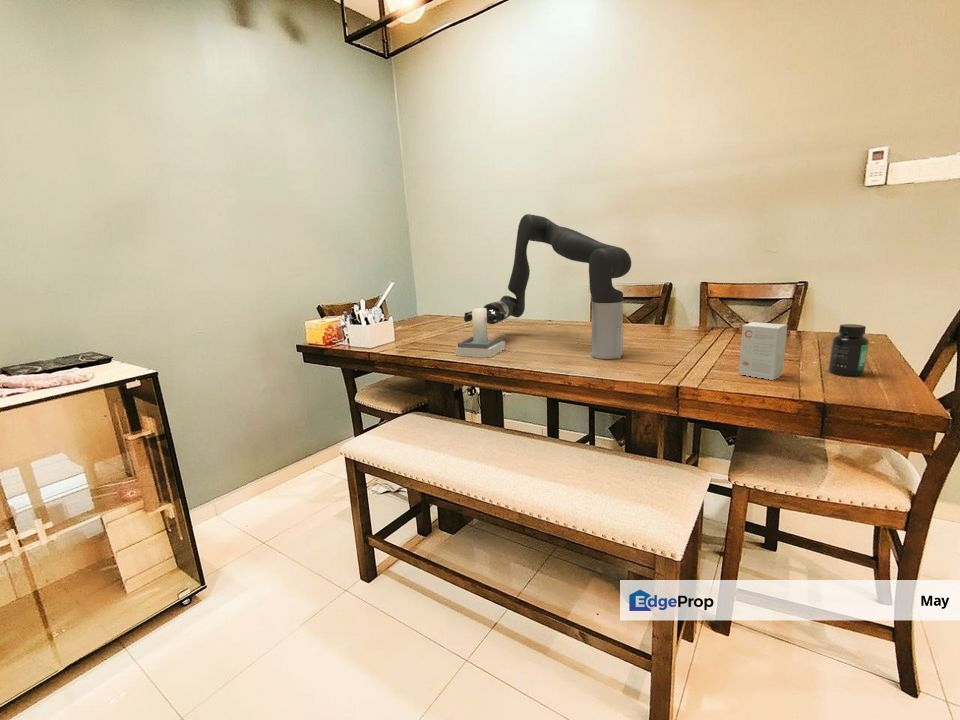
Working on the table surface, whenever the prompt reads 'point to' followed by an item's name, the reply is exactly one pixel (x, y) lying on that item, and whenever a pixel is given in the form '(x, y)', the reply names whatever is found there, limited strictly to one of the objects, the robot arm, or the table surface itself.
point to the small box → (762, 350)
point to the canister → (479, 325)
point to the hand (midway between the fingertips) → (476, 319)
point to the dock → (480, 348)
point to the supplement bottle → (849, 351)
